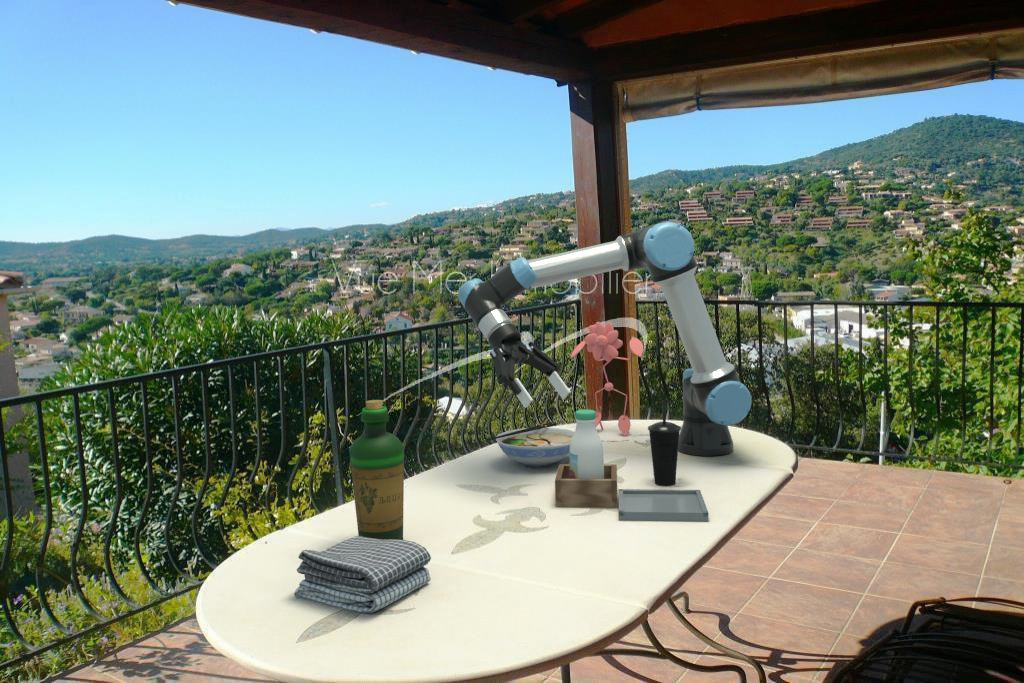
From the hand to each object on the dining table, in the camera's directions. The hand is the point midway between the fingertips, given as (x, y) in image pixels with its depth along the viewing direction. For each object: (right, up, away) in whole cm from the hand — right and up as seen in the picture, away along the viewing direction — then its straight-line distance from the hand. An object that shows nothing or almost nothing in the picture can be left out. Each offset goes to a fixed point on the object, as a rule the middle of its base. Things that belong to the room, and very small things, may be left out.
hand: (548, 399), depth 182 cm
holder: (+9, -22, -5) cm, 24 cm away
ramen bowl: (-1, -19, +26) cm, 33 cm away
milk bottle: (+9, -22, -5) cm, 24 cm away
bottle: (-34, -26, -29) cm, 52 cm away
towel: (-33, -28, -51) cm, 67 cm away
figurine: (+20, -15, +57) cm, 62 cm away
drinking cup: (+28, -20, +4) cm, 35 cm away
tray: (+24, -22, -14) cm, 35 cm away
